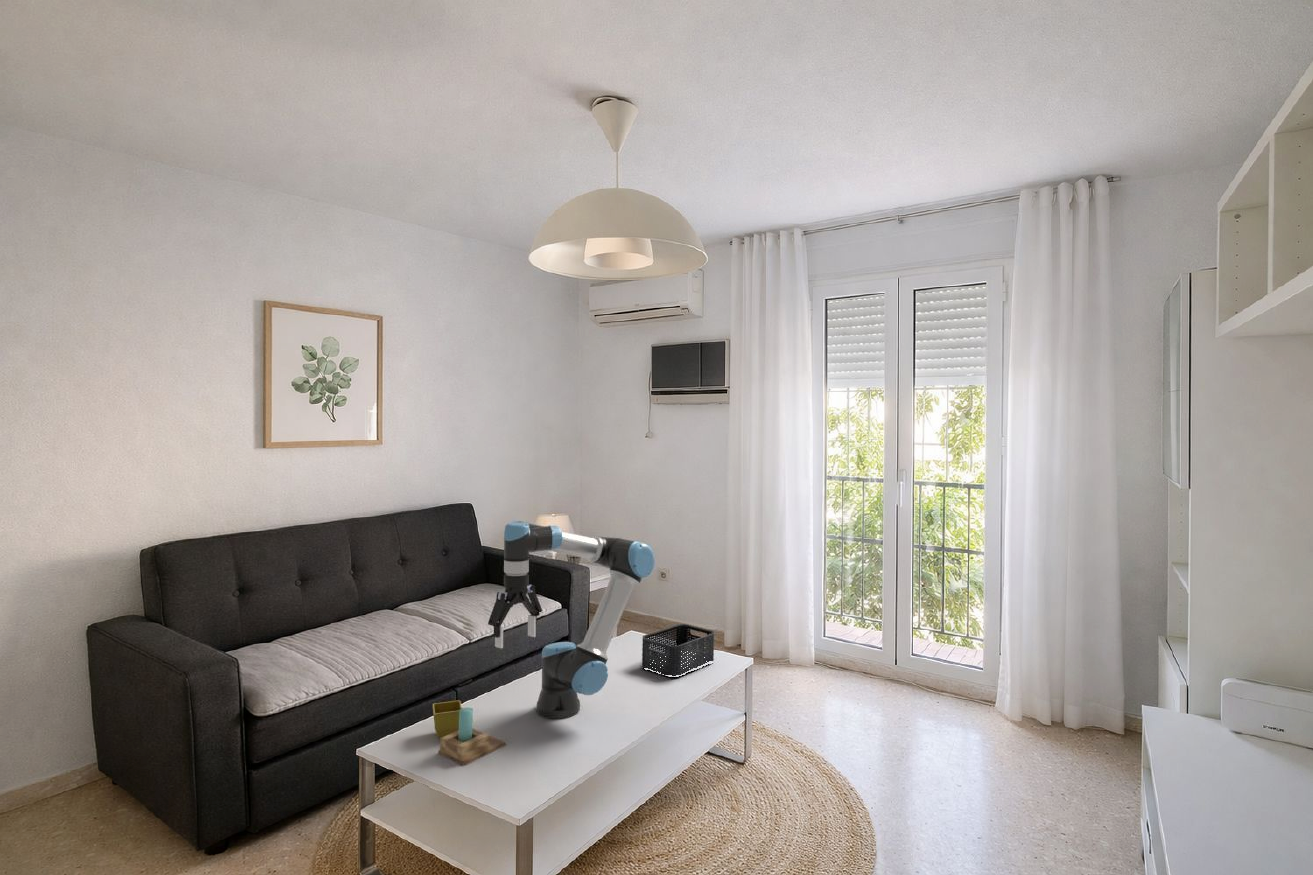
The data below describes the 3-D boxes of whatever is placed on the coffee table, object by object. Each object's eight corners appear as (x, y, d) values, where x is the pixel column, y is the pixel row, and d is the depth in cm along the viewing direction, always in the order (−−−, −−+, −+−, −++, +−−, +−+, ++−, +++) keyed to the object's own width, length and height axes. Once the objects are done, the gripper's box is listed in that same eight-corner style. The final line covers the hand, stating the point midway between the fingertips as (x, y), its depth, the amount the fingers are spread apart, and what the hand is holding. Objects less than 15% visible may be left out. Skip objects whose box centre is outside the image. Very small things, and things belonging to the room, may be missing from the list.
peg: (465, 744, 211) (466, 706, 211) (474, 748, 209) (475, 709, 208) (455, 749, 208) (456, 710, 207) (463, 753, 205) (465, 713, 205)
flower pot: (432, 730, 223) (432, 703, 223) (460, 726, 226) (460, 699, 226) (433, 742, 215) (433, 713, 214) (462, 738, 218) (462, 710, 218)
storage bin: (681, 652, 303) (681, 622, 303) (717, 662, 291) (717, 631, 291) (638, 669, 282) (638, 636, 281) (674, 681, 269) (675, 647, 269)
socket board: (479, 734, 220) (480, 718, 220) (505, 744, 214) (505, 728, 213) (438, 753, 207) (438, 737, 207) (464, 765, 200) (464, 748, 200)
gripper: (536, 565, 224) (536, 629, 224) (476, 578, 204) (475, 649, 204) (553, 568, 220) (552, 633, 220) (493, 582, 199) (492, 654, 200)
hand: (515, 641), depth 212 cm, fingers open, 13 cm apart
